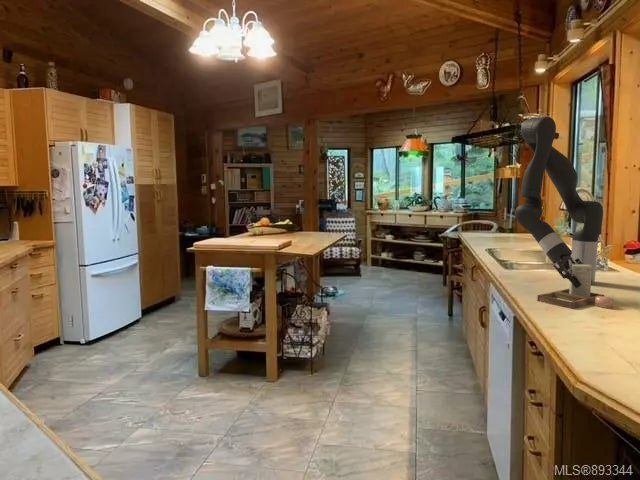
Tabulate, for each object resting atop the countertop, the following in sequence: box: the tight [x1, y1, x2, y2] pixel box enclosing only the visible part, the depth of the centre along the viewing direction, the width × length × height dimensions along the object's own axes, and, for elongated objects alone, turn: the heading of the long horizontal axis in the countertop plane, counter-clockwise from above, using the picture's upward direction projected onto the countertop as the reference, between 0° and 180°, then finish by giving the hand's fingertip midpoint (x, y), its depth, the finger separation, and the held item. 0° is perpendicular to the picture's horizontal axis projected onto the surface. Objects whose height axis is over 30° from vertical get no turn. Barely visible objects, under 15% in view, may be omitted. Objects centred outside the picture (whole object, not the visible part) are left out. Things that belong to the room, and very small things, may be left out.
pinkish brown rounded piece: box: [594, 295, 614, 309], centre depth 164 cm, size 5×5×3 cm
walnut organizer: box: [536, 287, 605, 310], centre depth 171 cm, size 21×12×2 cm, turn 125°
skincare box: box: [569, 264, 592, 298], centre depth 174 cm, size 6×4×12 cm
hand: (584, 285), depth 173 cm, fingers closed on skincare box, 7 cm apart
